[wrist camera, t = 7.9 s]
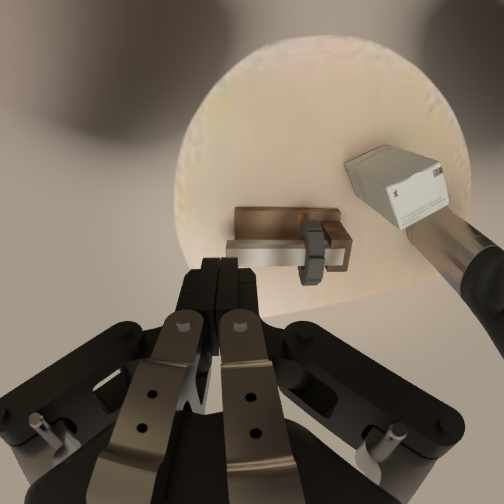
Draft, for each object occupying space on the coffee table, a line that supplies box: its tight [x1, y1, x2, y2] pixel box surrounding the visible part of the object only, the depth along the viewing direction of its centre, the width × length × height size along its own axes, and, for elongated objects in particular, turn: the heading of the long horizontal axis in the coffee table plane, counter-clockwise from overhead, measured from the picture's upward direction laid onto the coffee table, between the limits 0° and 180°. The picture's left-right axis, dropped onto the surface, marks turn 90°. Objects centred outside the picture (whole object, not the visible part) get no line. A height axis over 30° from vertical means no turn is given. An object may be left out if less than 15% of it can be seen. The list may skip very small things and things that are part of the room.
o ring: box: [298, 220, 325, 286], centre depth 40 cm, size 2×9×9 cm, turn 179°
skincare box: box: [344, 145, 449, 230], centre depth 35 cm, size 8×6×15 cm
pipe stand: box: [226, 207, 353, 272], centre depth 43 cm, size 17×8×8 cm, turn 90°
